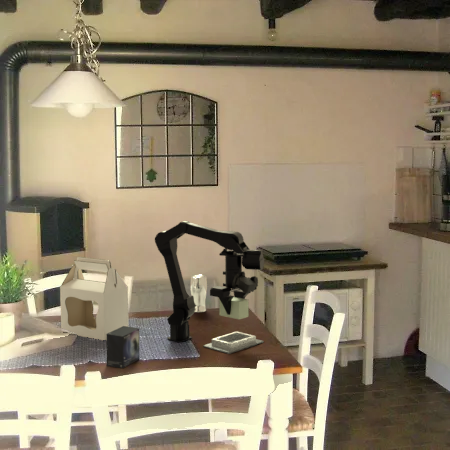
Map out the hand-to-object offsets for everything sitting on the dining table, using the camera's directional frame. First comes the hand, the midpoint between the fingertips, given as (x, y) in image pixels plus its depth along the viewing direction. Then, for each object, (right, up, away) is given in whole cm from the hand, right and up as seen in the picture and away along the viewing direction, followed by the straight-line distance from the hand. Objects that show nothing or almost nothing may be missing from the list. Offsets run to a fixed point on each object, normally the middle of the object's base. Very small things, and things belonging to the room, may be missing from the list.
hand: (233, 313), depth 216 cm
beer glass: (-14, -6, +50) cm, 52 cm away
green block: (0, -1, 0) cm, 1 cm away
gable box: (-52, -10, +17) cm, 55 cm away
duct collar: (0, -11, +1) cm, 11 cm away
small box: (-35, -13, -18) cm, 42 cm away
